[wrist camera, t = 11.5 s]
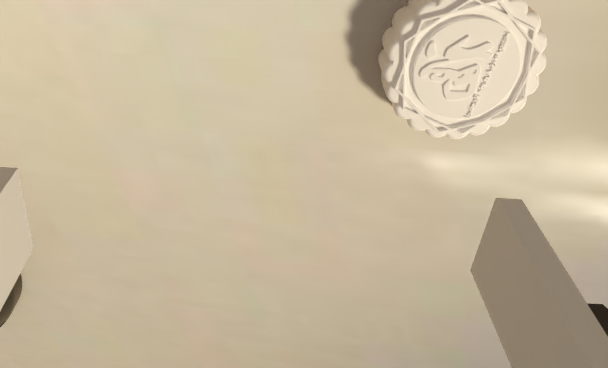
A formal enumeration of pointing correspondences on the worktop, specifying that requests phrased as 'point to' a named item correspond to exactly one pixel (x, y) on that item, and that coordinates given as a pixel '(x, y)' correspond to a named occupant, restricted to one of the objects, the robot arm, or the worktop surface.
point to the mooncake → (461, 63)
